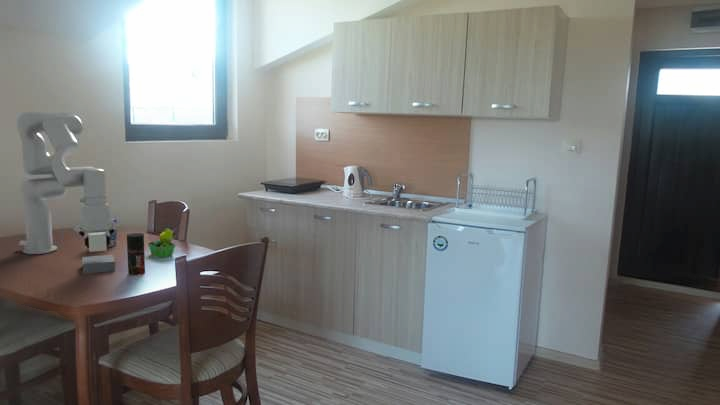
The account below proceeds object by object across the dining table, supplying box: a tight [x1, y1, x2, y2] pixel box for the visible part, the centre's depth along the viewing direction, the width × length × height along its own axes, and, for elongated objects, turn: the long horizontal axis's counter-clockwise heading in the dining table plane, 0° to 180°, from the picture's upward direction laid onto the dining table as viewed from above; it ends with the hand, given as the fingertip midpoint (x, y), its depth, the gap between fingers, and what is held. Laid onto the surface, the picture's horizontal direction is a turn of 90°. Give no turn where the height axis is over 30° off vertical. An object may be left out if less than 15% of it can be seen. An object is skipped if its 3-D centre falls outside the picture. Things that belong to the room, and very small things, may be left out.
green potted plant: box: [147, 228, 176, 259], centre depth 227 cm, size 11×9×11 cm
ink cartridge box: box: [90, 218, 118, 248], centre depth 238 cm, size 10×6×14 cm, turn 158°
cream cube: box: [88, 232, 108, 253], centre depth 204 cm, size 6×6×6 cm
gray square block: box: [81, 254, 116, 275], centre depth 206 cm, size 11×11×4 cm
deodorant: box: [126, 232, 146, 276], centre depth 200 cm, size 6×6×15 cm
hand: (97, 246), depth 204 cm, fingers closed on cream cube, 6 cm apart
